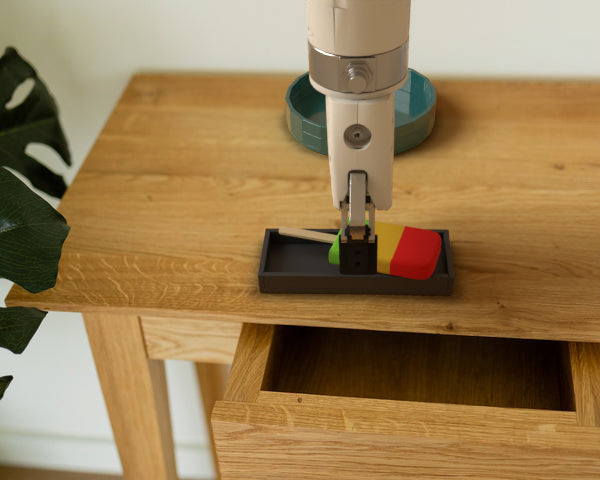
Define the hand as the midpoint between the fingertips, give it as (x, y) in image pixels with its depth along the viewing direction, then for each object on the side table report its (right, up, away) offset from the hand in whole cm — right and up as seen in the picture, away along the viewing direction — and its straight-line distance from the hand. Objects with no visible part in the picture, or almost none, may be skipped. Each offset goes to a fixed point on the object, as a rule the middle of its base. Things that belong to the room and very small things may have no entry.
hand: (359, 237), depth 69 cm
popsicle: (0, -1, +1) cm, 2 cm away
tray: (0, -3, +2) cm, 4 cm away
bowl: (+2, +16, +23) cm, 28 cm away
